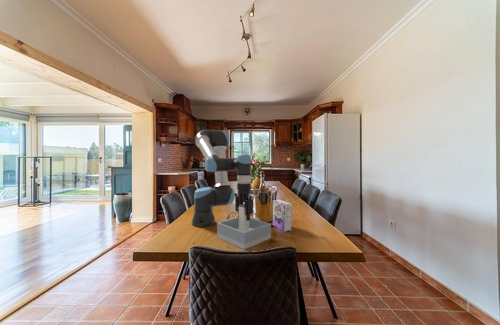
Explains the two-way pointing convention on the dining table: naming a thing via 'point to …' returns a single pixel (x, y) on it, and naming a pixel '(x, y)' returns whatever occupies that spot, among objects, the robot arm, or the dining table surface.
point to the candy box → (282, 215)
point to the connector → (242, 218)
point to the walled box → (247, 239)
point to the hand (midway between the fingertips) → (243, 225)
